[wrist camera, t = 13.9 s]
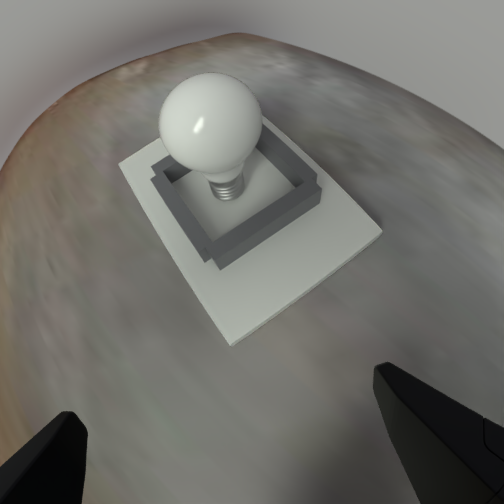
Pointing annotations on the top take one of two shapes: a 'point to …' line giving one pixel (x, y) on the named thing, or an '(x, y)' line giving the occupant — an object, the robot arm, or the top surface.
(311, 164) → the bulb holder
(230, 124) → the lightbulb
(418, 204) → the top surface
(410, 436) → the robot arm
